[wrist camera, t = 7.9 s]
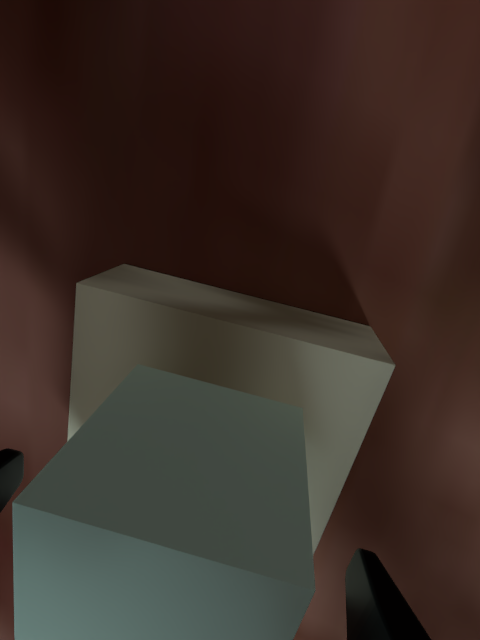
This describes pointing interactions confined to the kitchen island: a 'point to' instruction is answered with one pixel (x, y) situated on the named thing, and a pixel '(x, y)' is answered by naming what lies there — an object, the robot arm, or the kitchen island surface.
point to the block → (168, 520)
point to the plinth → (233, 360)
